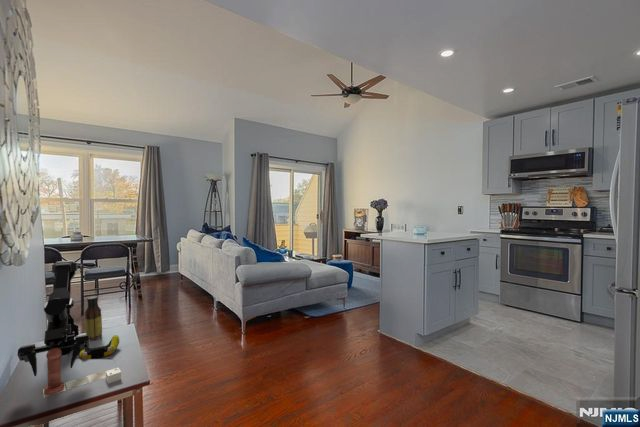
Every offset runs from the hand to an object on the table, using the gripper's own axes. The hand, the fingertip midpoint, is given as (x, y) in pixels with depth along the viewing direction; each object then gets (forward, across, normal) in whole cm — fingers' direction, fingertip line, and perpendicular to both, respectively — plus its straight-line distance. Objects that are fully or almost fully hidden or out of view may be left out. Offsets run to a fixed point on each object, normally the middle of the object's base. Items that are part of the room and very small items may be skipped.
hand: (53, 371), depth 102 cm
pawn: (+4, 0, +6) cm, 7 cm away
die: (+7, +17, +4) cm, 19 cm away
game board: (+2, +6, +9) cm, 11 cm away
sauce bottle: (-25, +10, +37) cm, 46 cm away
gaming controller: (-12, +12, +24) cm, 29 cm away
